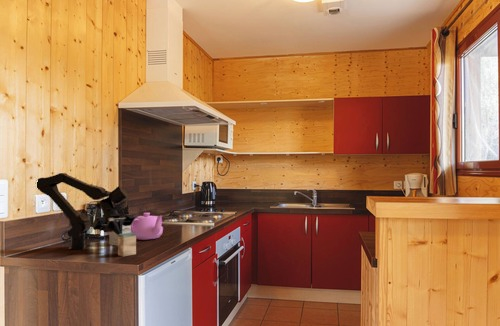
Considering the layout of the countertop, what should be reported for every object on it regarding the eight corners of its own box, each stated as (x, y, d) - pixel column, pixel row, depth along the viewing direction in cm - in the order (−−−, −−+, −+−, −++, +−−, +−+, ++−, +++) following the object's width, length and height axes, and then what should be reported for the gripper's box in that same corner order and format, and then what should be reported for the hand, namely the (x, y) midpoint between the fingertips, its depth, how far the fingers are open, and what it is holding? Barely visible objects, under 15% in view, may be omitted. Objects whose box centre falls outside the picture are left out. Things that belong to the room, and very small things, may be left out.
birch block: (118, 254, 158) (118, 234, 158) (130, 252, 163) (130, 232, 163) (123, 256, 155) (123, 235, 155) (135, 254, 160) (136, 233, 160)
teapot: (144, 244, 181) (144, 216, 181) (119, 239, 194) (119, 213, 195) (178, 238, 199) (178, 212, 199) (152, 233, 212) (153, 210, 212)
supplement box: (118, 246, 176) (119, 220, 176) (108, 244, 180) (109, 219, 180) (130, 243, 182) (131, 218, 183) (121, 242, 186) (121, 217, 186)
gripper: (120, 218, 181) (132, 244, 173) (83, 222, 167) (94, 250, 159) (129, 204, 176) (141, 229, 169) (91, 206, 162) (103, 234, 154)
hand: (120, 236), depth 163 cm, fingers closed
